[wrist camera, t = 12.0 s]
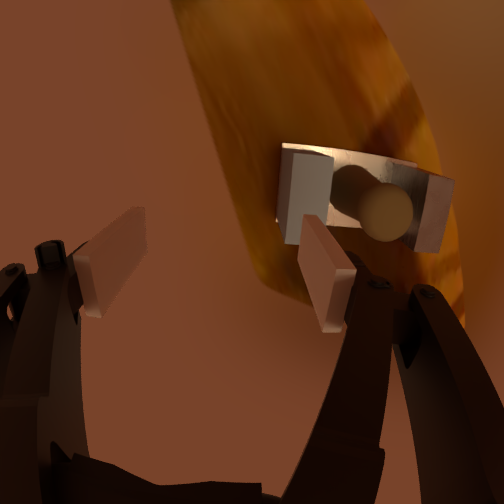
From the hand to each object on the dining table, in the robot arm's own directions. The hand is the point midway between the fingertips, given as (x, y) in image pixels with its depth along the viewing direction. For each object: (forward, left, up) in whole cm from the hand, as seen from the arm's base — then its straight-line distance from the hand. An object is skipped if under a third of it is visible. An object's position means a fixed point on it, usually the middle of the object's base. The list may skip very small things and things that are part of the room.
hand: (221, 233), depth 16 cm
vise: (0, +13, -18) cm, 23 cm away
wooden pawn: (0, +14, -17) cm, 22 cm away
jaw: (0, +7, -17) cm, 18 cm away
